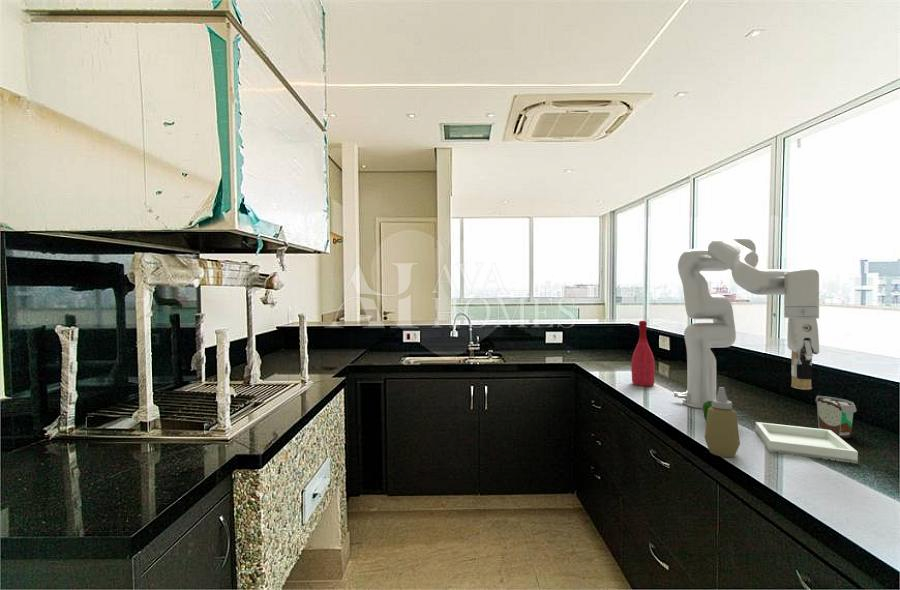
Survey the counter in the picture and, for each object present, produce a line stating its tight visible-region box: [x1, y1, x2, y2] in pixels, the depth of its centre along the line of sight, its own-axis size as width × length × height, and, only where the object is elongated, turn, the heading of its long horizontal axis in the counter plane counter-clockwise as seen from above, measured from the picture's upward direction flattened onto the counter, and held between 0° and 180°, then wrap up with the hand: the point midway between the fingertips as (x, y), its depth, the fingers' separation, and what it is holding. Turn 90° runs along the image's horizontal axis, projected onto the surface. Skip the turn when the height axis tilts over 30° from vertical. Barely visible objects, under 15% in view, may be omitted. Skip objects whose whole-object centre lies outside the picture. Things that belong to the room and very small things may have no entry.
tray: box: [754, 421, 859, 464], centre depth 117 cm, size 18×18×3 cm
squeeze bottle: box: [704, 386, 741, 458], centre depth 112 cm, size 8×8×18 cm
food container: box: [815, 395, 858, 439], centre depth 127 cm, size 12×6×10 cm, turn 168°
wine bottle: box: [631, 320, 656, 387], centre depth 194 cm, size 10×10×30 cm
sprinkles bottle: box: [790, 346, 813, 390], centre depth 117 cm, size 5×5×13 cm
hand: (801, 376), depth 117 cm, fingers closed on sprinkles bottle, 4 cm apart
